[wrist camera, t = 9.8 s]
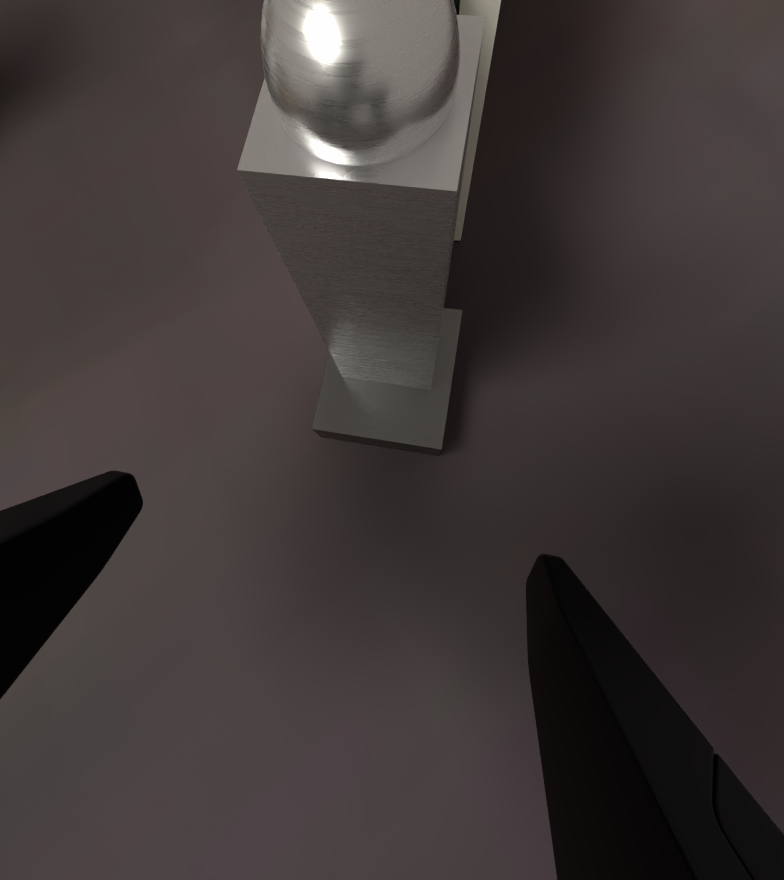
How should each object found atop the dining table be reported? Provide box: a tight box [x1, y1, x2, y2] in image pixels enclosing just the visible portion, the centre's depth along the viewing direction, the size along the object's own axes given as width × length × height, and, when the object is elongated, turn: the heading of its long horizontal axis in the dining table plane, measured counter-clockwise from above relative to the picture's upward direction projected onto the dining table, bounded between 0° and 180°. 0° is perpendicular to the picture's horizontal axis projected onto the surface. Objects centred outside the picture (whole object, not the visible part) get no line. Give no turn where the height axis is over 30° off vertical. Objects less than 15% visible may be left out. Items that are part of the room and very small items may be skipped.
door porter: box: [237, 0, 486, 456], centre depth 10 cm, size 6×5×12 cm
